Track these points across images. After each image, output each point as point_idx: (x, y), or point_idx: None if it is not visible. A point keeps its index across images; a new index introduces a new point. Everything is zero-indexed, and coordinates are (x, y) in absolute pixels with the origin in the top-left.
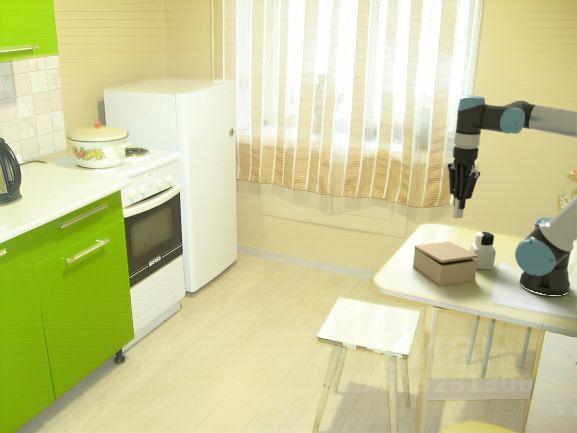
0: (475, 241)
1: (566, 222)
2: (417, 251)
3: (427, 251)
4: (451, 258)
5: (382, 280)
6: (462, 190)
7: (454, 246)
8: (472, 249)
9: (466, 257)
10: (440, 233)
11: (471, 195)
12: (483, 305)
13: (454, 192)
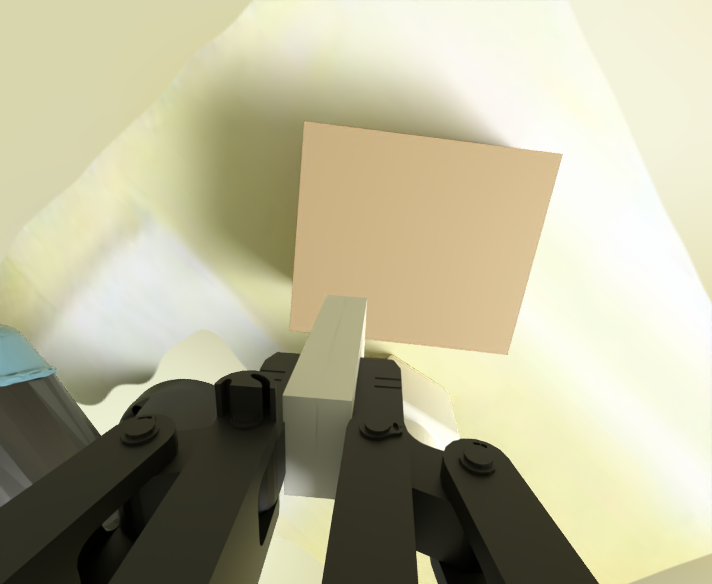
0: (421, 434)
1: None
2: None
3: (451, 151)
4: (307, 189)
5: None
6: (140, 538)
7: (437, 325)
8: (425, 406)
9: (294, 270)
10: (698, 479)
11: (98, 549)
12: (141, 172)
13: (388, 467)
